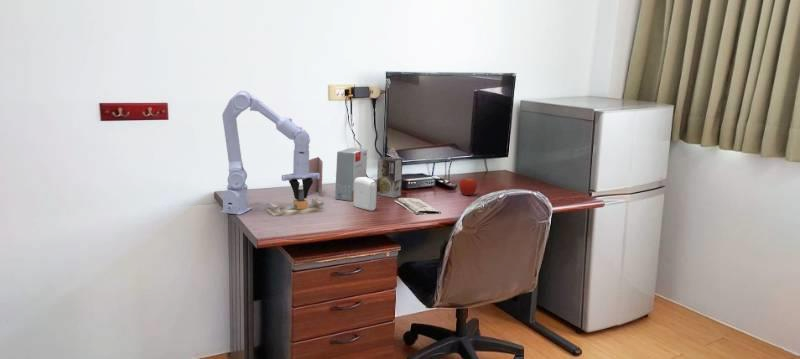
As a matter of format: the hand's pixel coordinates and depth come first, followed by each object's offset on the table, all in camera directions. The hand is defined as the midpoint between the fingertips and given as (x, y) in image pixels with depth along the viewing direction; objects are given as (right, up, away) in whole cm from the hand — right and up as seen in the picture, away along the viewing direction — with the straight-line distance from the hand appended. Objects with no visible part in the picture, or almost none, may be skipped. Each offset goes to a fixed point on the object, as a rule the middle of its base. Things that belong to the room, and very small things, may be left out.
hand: (300, 198), depth 239 cm
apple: (+68, 0, +42) cm, 80 cm away
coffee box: (+33, 0, +34) cm, 48 cm away
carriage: (0, -4, +1) cm, 4 cm away
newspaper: (+44, -5, +16) cm, 47 cm away
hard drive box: (+17, 0, +28) cm, 33 cm away
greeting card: (+3, +1, +29) cm, 30 cm away
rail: (-2, -5, 0) cm, 5 cm away
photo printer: (+23, -4, +10) cm, 26 cm away
